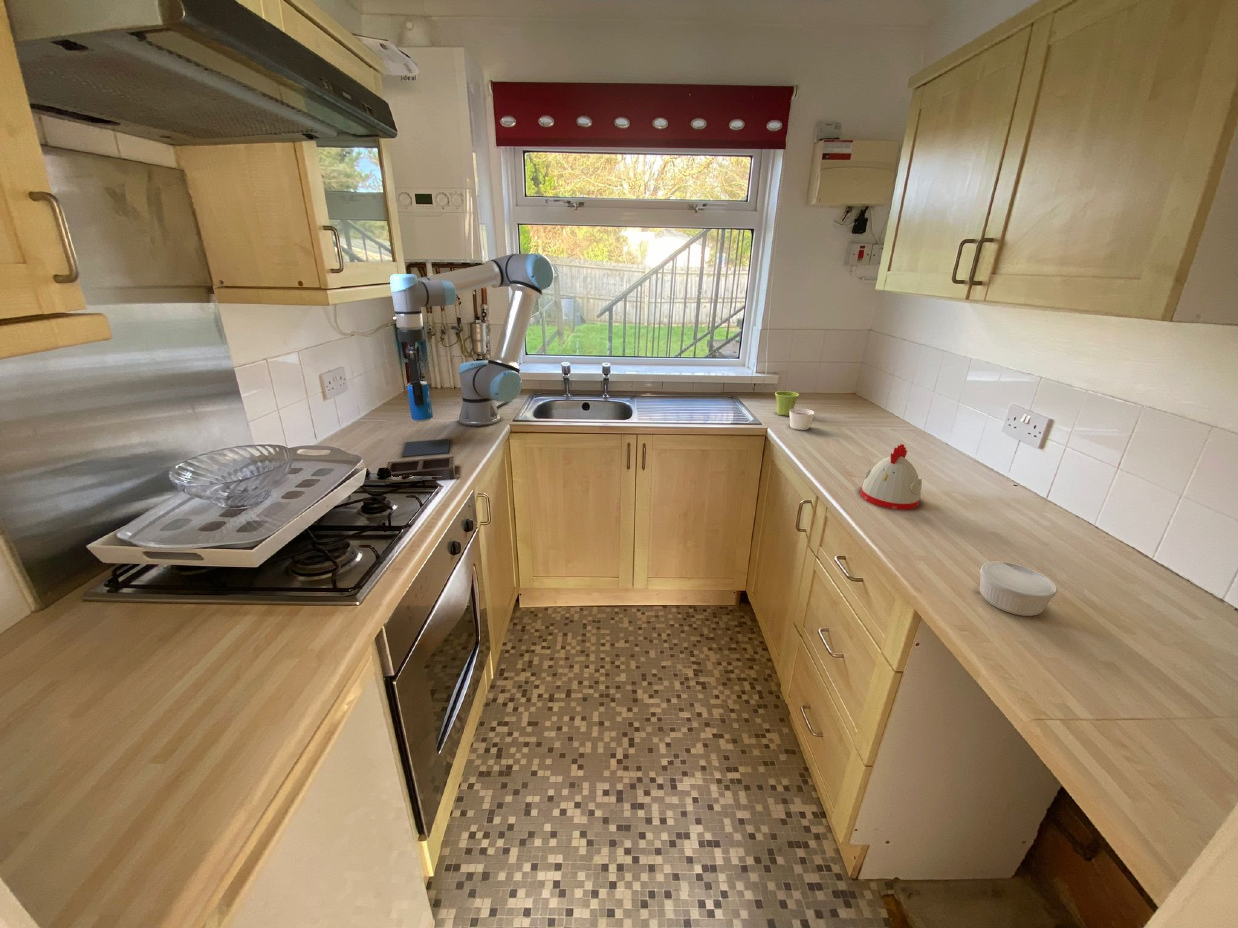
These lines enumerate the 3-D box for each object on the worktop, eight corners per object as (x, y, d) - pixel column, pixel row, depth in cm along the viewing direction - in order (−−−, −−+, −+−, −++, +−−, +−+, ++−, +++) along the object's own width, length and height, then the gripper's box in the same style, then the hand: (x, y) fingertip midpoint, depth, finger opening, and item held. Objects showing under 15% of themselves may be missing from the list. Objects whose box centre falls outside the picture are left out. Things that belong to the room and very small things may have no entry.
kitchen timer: (851, 496, 137) (861, 443, 131) (875, 483, 145) (885, 433, 139) (905, 514, 127) (918, 458, 121) (927, 499, 135) (941, 446, 129)
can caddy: (389, 472, 149) (387, 461, 148) (455, 466, 154) (453, 456, 153) (385, 485, 140) (383, 474, 139) (454, 478, 145) (453, 468, 144)
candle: (810, 425, 197) (813, 409, 195) (813, 432, 189) (815, 415, 186) (786, 423, 199) (788, 407, 197) (787, 430, 191) (790, 413, 188)
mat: (406, 443, 173) (406, 442, 173) (449, 439, 177) (449, 438, 177) (402, 457, 161) (401, 456, 160) (448, 453, 164) (448, 452, 164)
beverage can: (426, 423, 161) (421, 386, 157) (407, 421, 163) (402, 384, 158) (436, 417, 167) (432, 381, 163) (419, 416, 169) (414, 380, 164)
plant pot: (767, 412, 213) (770, 392, 210) (785, 410, 217) (787, 390, 214) (783, 418, 205) (786, 397, 202) (801, 415, 209) (804, 395, 206)
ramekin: (1050, 600, 95) (1059, 576, 93) (1045, 629, 87) (1055, 604, 85) (979, 576, 102) (986, 554, 100) (968, 602, 94) (976, 578, 92)
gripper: (400, 325, 162) (410, 395, 171) (393, 332, 145) (404, 410, 153) (425, 324, 164) (434, 394, 173) (421, 331, 147) (431, 409, 155)
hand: (420, 402), depth 163 cm, fingers closed on beverage can, 6 cm apart
